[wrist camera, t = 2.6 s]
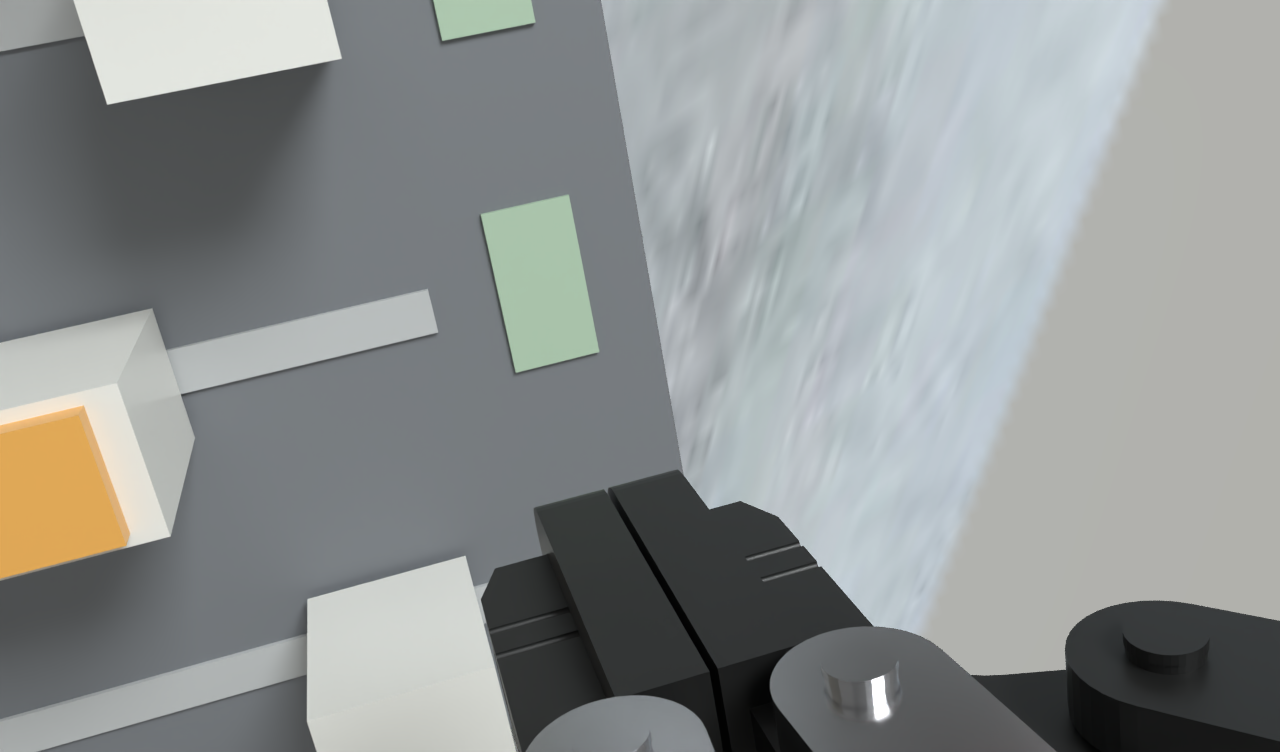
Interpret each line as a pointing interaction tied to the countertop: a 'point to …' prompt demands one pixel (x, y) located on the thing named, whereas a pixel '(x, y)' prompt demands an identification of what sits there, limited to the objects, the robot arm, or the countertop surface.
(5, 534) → the block
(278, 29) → the block
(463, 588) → the breaker
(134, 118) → the grey flat slab
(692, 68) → the countertop surface
